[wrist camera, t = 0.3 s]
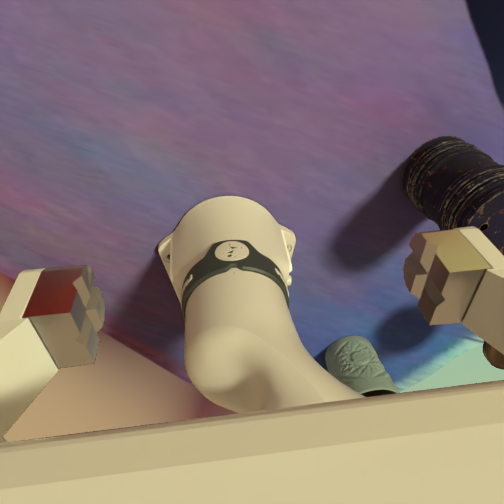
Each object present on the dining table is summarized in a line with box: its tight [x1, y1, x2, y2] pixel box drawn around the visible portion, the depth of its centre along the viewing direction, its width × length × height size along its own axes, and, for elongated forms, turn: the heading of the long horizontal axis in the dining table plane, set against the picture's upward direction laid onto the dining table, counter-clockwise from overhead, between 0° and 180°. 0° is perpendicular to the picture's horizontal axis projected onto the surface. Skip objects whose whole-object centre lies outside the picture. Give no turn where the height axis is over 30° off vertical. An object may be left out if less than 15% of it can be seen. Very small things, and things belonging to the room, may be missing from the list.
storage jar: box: [401, 136, 504, 256], centre depth 47 cm, size 10×10×15 cm
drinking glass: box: [325, 336, 399, 397], centre depth 66 cm, size 10×10×12 cm
